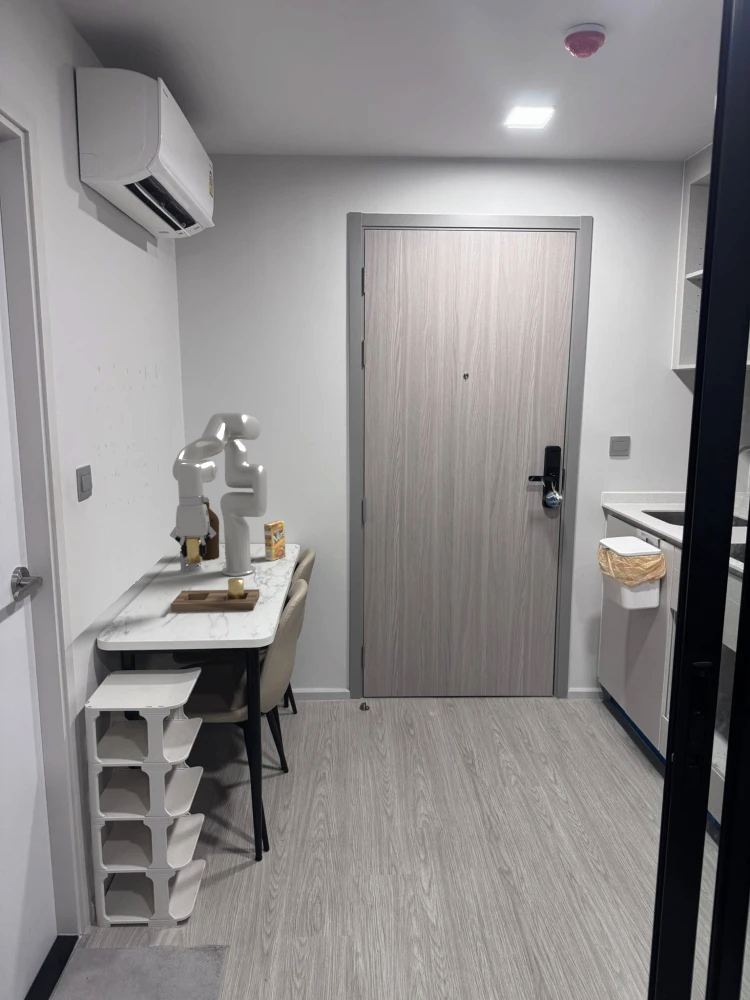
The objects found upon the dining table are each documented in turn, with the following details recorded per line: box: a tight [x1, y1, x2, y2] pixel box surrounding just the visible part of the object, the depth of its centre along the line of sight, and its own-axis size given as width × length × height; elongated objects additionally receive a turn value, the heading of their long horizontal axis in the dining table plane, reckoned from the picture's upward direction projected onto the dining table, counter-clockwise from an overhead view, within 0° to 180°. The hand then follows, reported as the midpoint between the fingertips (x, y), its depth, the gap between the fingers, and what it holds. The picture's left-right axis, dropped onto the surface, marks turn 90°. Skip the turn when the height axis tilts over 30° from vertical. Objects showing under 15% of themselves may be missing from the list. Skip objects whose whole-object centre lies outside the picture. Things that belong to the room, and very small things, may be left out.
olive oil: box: [202, 498, 220, 561], centre depth 276 cm, size 11×11×25 cm
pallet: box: [170, 588, 260, 613], centre depth 216 cm, size 14×26×4 cm, turn 92°
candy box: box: [263, 520, 287, 562], centre depth 275 cm, size 9×4×15 cm, turn 150°
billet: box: [185, 536, 204, 564], centre depth 212 cm, size 5×5×8 cm
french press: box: [178, 536, 205, 576], centre depth 255 cm, size 10×12×25 cm
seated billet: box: [227, 577, 245, 600], centre depth 215 cm, size 5×5×8 cm
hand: (194, 555), depth 213 cm, fingers closed on billet, 5 cm apart
